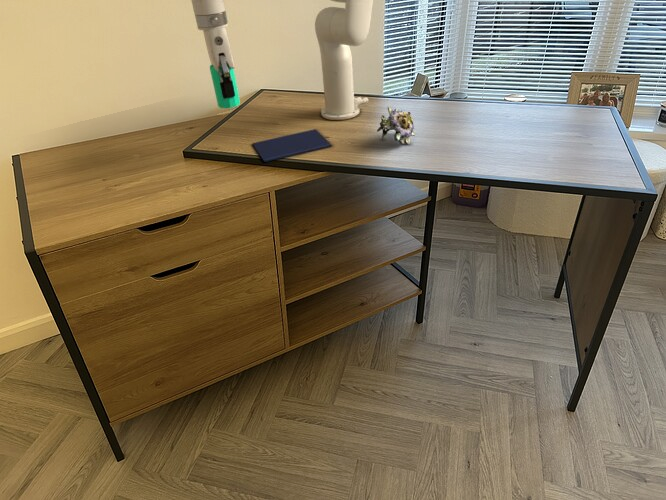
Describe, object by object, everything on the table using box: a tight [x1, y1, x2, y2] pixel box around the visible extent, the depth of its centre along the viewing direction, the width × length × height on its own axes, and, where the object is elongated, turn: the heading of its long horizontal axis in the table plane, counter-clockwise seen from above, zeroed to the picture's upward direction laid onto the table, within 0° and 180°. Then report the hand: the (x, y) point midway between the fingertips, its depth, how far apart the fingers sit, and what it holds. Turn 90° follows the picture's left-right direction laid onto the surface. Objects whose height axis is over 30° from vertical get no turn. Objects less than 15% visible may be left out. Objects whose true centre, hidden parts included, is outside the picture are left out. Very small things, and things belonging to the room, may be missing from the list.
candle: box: [209, 64, 241, 109], centre depth 127 cm, size 6×6×12 cm
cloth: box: [252, 128, 333, 163], centre depth 140 cm, size 20×14×1 cm
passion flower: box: [376, 106, 415, 145], centre depth 135 cm, size 11×11×12 cm
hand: (227, 93), depth 128 cm, fingers closed on candle, 4 cm apart
